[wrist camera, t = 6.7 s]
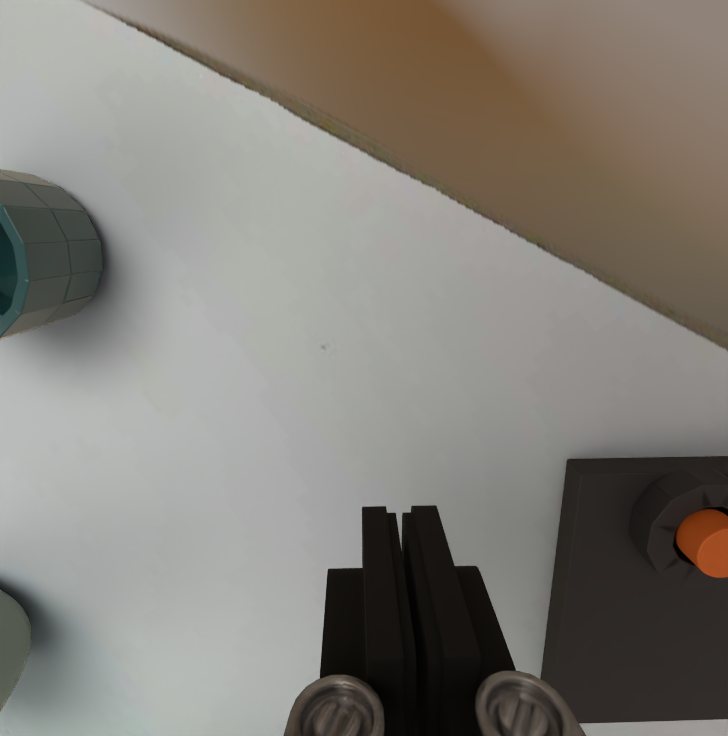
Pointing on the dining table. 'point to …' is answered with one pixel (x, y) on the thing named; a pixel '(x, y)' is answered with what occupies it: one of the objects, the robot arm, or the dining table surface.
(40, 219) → the teal hollow faceted cylinder
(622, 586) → the scale
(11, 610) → the cup
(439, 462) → the dining table surface
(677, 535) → the button
